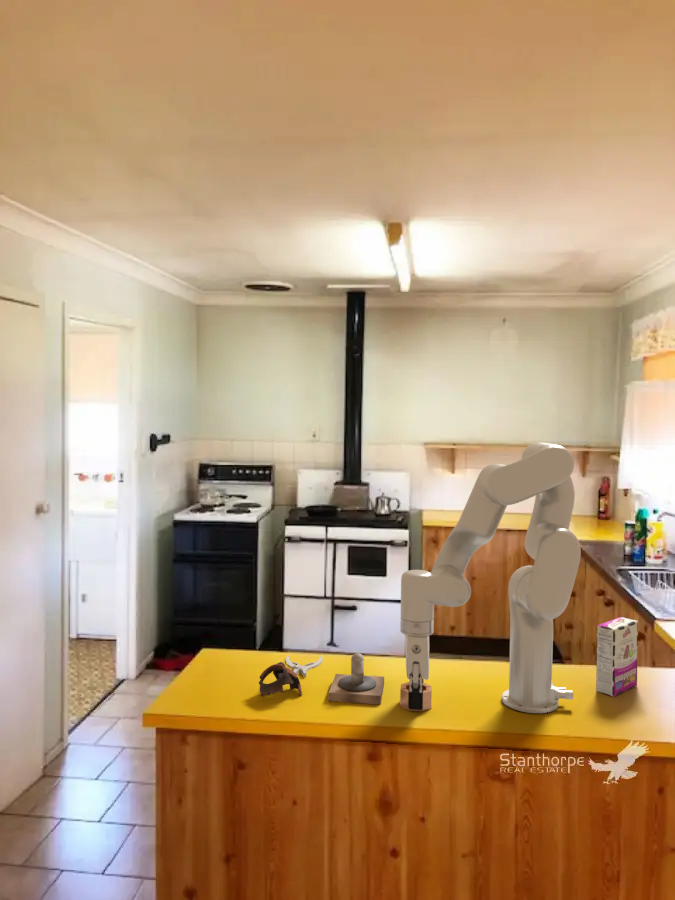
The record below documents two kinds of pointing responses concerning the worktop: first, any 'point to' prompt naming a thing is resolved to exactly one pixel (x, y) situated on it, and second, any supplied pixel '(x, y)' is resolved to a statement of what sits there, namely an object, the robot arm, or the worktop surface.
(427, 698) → the ring
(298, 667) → the pliers
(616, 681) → the candy bar box
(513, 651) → the robot arm
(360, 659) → the shaft block
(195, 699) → the worktop surface
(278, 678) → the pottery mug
